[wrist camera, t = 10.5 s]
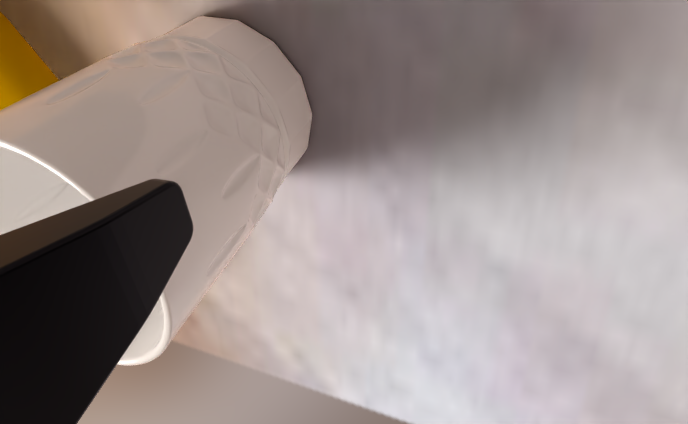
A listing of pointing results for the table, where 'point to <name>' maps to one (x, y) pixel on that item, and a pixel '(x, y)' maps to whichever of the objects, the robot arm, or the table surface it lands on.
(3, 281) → the robot arm
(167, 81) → the white cup
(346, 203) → the table surface
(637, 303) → the table surface
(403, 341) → the table surface
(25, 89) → the element tile
